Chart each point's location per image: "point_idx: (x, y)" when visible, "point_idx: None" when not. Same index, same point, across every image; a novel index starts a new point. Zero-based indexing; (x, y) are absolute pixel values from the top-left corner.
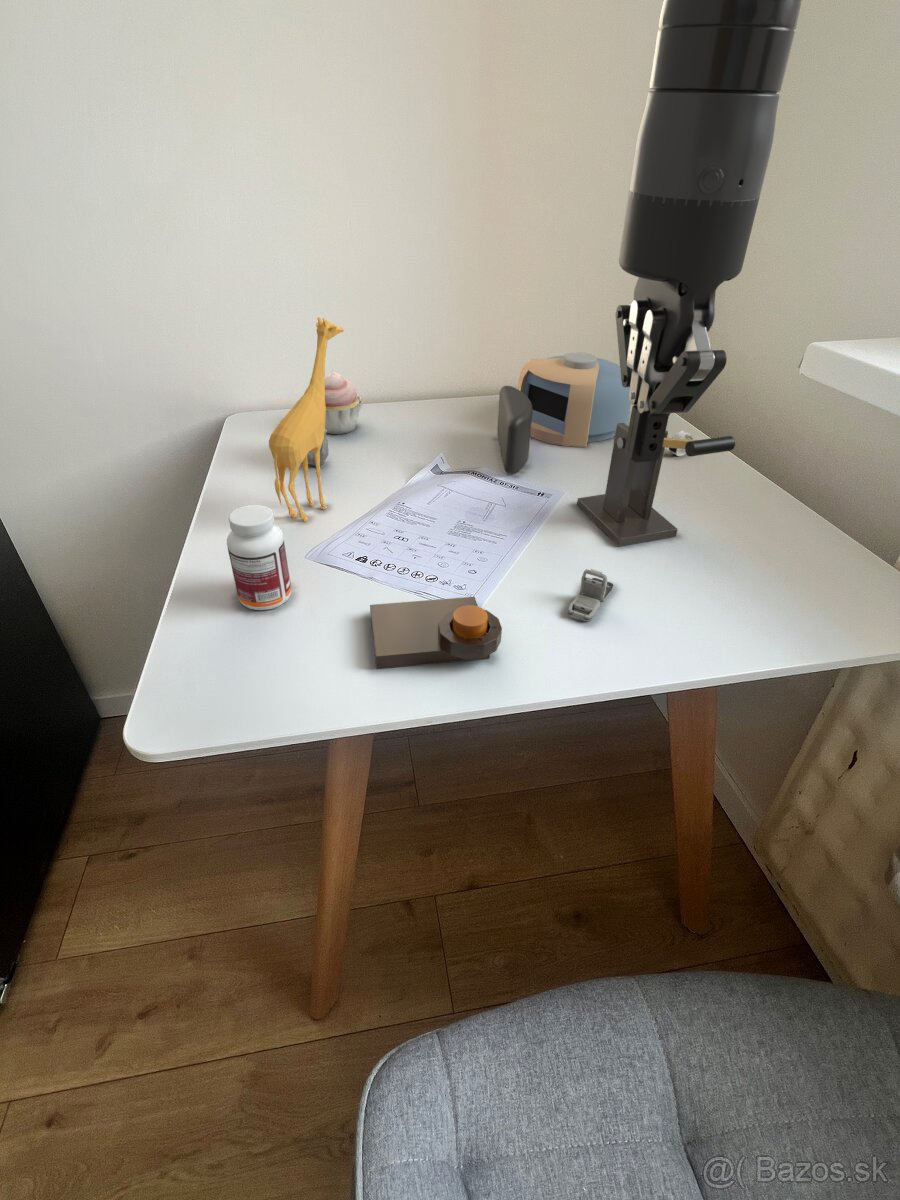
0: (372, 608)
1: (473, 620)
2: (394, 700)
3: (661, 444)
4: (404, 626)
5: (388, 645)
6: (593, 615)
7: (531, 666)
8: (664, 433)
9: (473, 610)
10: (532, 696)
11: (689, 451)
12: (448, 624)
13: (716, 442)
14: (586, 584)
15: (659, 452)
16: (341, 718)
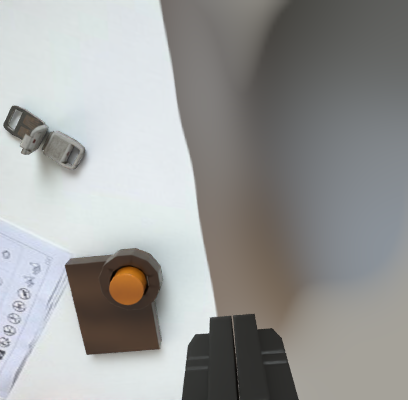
0: (92, 352)
1: (134, 287)
2: (198, 326)
3: (283, 351)
4: (117, 327)
5: (144, 340)
6: (77, 142)
7: (156, 216)
8: (290, 371)
9: (117, 286)
10: (196, 220)
11: None
12: None
13: None
14: (34, 147)
15: (278, 337)
16: None
